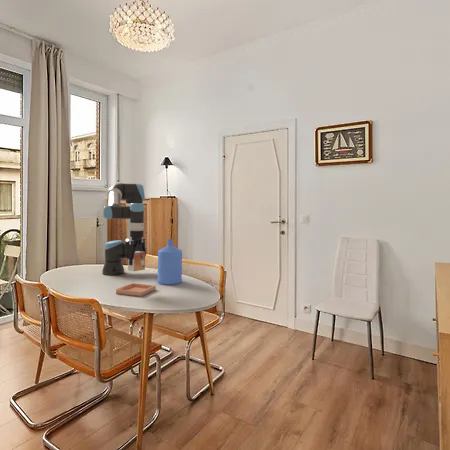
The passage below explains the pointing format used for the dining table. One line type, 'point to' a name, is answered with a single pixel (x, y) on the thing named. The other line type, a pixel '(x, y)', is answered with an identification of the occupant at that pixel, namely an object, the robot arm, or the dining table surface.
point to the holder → (136, 289)
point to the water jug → (169, 265)
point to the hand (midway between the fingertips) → (136, 269)
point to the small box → (138, 261)
